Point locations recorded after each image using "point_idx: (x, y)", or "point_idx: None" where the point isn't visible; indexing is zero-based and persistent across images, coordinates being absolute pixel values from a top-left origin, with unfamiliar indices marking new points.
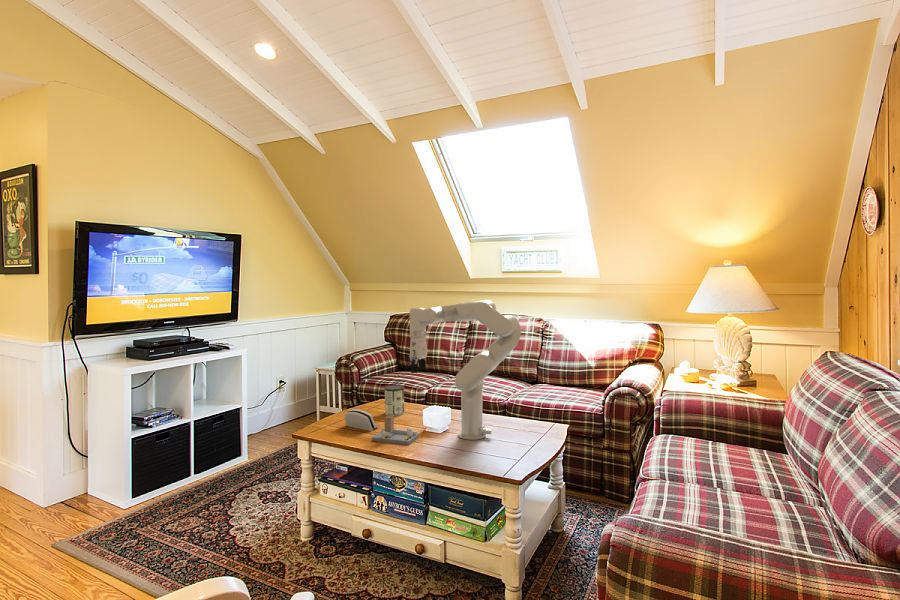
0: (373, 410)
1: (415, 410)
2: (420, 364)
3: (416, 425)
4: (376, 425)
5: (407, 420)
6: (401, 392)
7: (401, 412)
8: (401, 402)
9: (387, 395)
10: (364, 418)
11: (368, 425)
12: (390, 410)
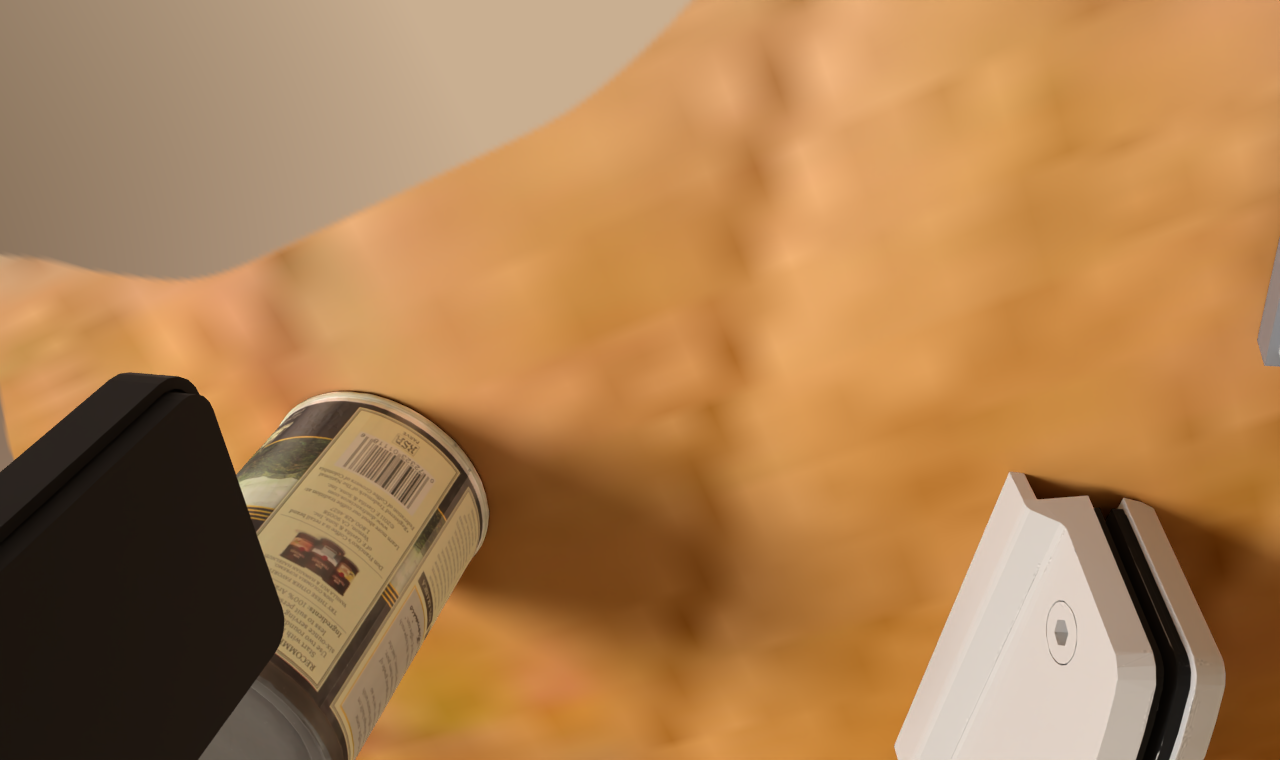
0: (409, 696)
1: (158, 312)
2: (142, 744)
3: (717, 37)
4: (1042, 509)
5: (557, 252)
6: None
7: (378, 417)
8: (311, 497)
9: (377, 713)
10: (1216, 699)
11: (1182, 585)
12: (460, 540)
